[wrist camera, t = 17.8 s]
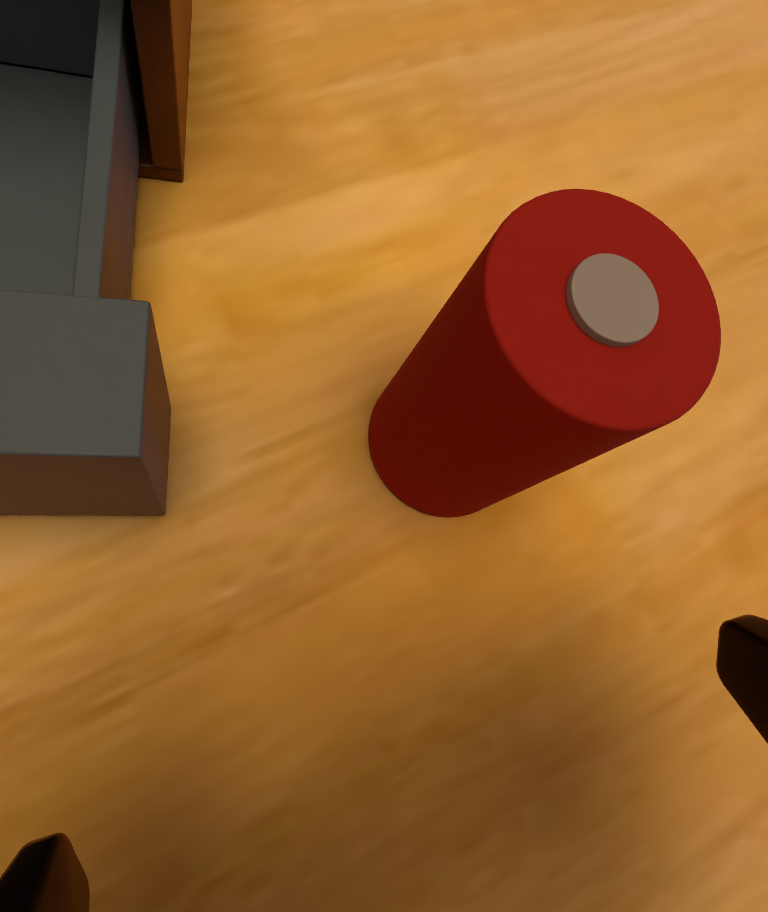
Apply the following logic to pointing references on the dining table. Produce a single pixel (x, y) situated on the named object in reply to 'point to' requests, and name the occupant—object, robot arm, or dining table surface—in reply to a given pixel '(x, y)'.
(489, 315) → the roller
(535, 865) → the dining table surface
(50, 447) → the drawer
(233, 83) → the dining table surface
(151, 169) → the cubby
